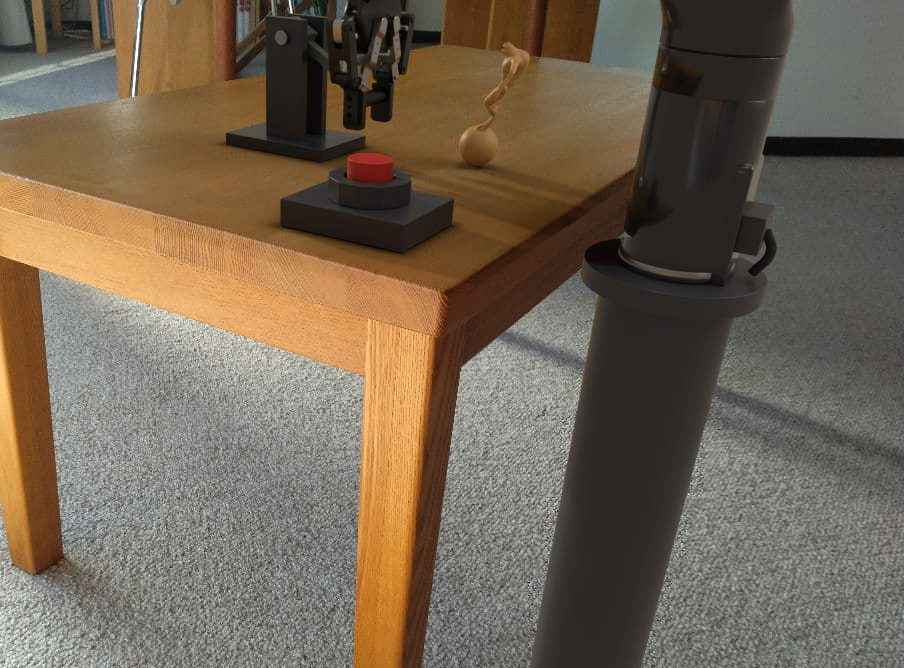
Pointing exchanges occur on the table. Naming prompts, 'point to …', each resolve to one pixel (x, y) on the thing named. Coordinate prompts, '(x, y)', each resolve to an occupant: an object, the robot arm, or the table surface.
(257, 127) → the bracket
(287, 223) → the button block
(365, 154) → the button
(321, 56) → the lever
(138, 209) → the table surface
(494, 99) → the figurine
